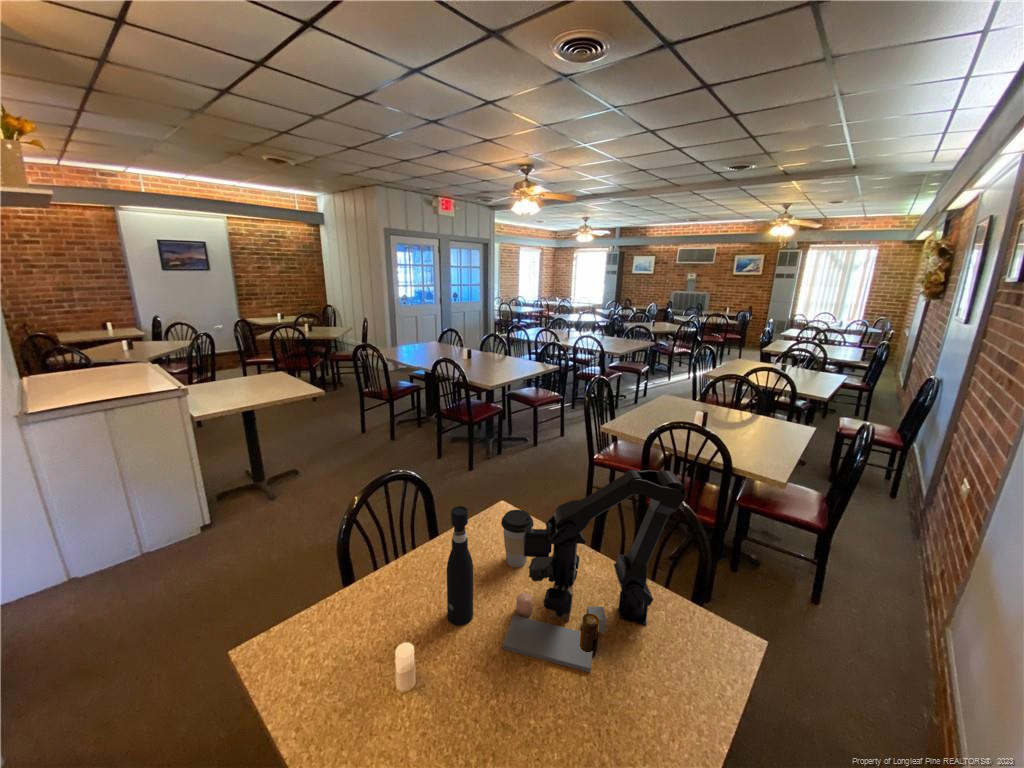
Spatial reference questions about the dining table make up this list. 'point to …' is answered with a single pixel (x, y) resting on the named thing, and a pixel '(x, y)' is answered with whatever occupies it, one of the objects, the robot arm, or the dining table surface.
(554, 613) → the walnut block
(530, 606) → the terracotta cylinder
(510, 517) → the coffee cup
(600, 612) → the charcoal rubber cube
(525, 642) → the slate board
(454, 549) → the black water bottle
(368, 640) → the dining table surface
